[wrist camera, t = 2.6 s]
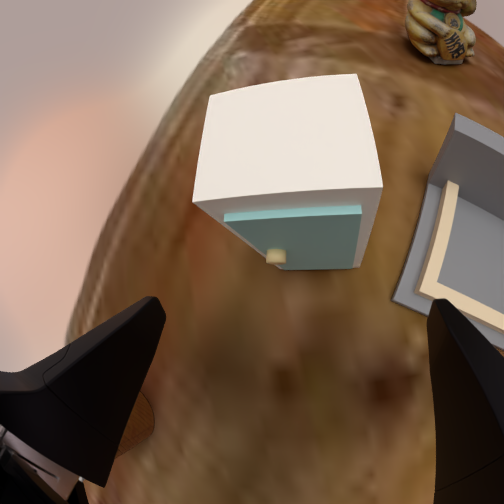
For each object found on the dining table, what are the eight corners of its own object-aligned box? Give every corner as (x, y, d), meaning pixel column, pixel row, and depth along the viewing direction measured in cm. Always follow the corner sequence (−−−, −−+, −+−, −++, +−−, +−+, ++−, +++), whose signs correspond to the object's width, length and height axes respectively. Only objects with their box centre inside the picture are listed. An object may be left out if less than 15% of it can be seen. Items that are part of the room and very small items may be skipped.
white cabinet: (359, 279, 19) (386, 216, 7) (279, 280, 21) (189, 227, 9) (355, 203, 20) (356, 73, 8) (281, 207, 22) (210, 95, 10)
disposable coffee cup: (91, 402, 24) (5, 414, 13) (121, 349, 24) (17, 349, 13) (143, 466, 20) (59, 503, 9) (185, 420, 20) (81, 466, 9)
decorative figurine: (427, 73, 20) (435, -41, 6) (388, 36, 23) (378, -61, 9) (479, 67, 18) (497, -24, 4) (440, 32, 20) (443, -52, 7)
